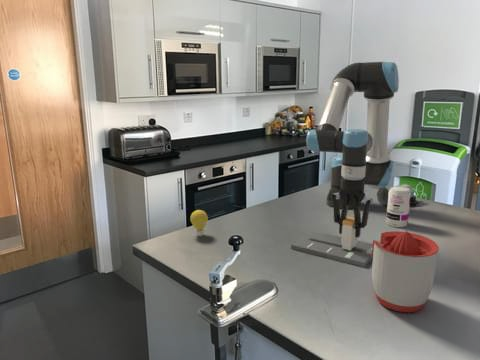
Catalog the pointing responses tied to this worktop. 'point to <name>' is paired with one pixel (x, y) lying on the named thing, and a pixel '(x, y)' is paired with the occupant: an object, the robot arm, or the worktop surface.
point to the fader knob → (348, 233)
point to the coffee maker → (383, 192)
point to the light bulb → (199, 221)
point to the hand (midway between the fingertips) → (348, 244)
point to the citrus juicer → (403, 270)
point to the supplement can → (398, 206)
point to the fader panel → (333, 248)
